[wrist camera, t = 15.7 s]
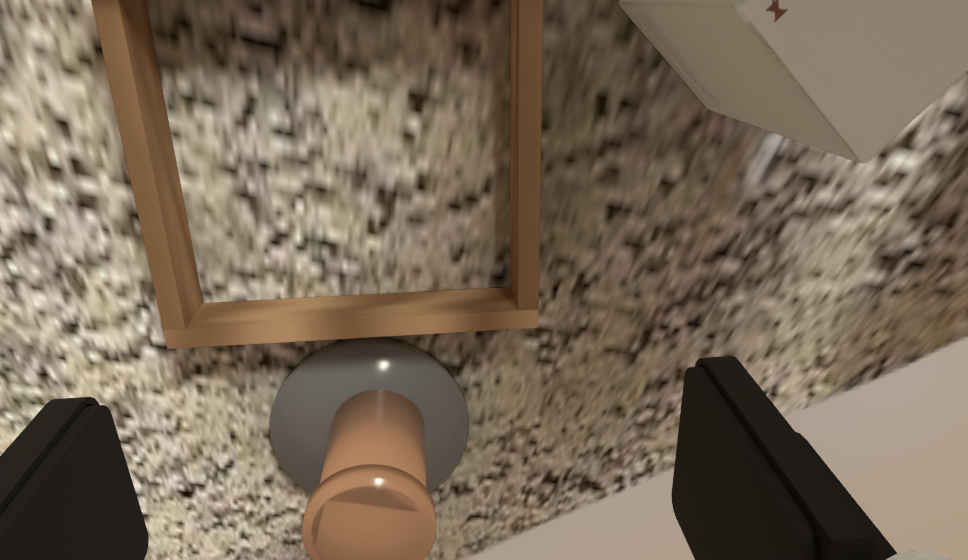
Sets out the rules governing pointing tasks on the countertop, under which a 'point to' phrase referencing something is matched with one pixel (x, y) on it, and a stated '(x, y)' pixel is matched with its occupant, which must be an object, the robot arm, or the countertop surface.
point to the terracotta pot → (372, 484)
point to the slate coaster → (357, 369)
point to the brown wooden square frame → (317, 316)
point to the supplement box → (813, 62)
